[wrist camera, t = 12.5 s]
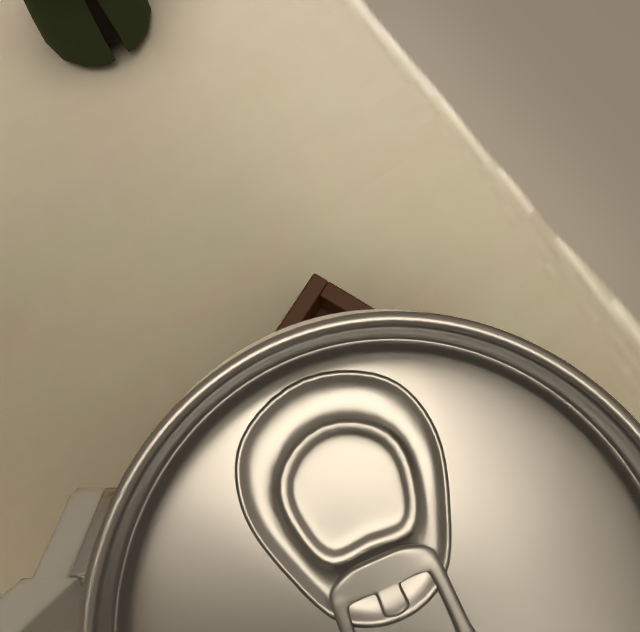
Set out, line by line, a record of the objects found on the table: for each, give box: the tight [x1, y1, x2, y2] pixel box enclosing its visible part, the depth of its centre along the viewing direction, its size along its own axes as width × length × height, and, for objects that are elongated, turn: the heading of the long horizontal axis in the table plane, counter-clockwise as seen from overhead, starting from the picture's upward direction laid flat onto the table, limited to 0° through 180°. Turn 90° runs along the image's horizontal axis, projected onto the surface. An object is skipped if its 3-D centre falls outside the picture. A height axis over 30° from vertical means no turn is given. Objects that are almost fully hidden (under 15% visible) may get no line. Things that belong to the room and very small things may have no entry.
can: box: [77, 309, 640, 632], centre depth 11 cm, size 6×6×12 cm
